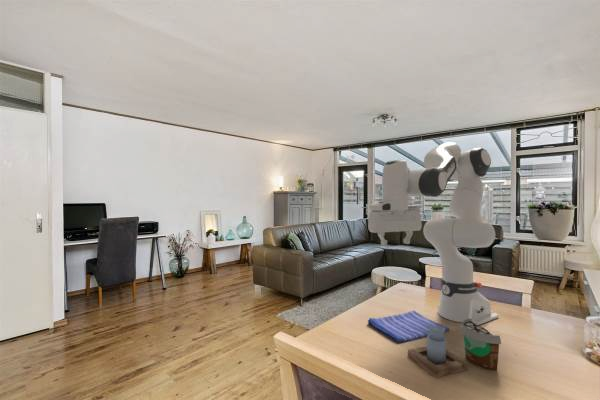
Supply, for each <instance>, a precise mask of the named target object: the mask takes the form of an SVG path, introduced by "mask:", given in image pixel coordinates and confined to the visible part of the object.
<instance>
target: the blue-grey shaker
mask: <svg viewBox="0 0 600 400" xmlns="http://www.w3.org/2000/svg"><path fill="white" fill-rule="evenodd" d="M445 333H446V331H445V330H444V329H443V328H441V327H438V326H430V327H429V335H427V336H426V346H427V359H428V360H429V361H431V362H432V363H434V364H436V365H439V364H443V363H446V350H447V337H445Z"/></svg>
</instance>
